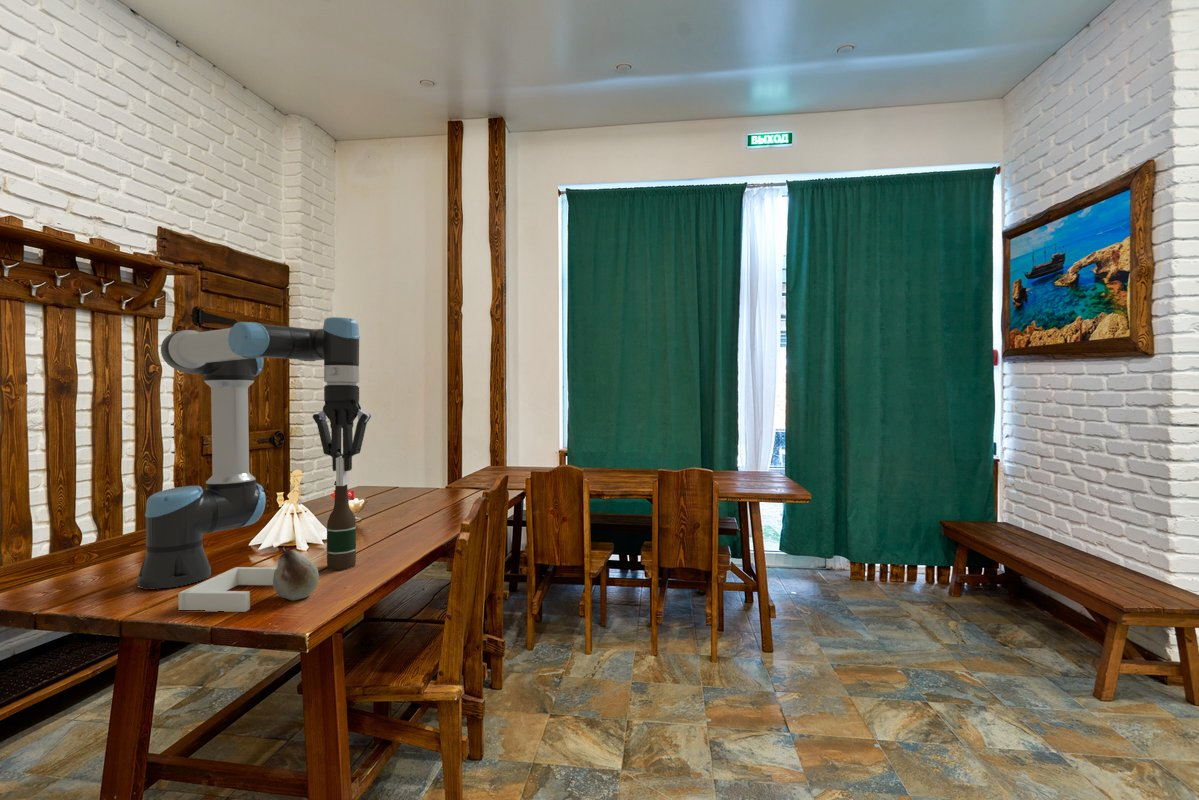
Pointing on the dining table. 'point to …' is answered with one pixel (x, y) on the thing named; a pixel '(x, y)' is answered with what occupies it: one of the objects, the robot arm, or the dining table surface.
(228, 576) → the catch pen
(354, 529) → the beer bottle
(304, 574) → the fruit
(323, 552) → the dining table surface
